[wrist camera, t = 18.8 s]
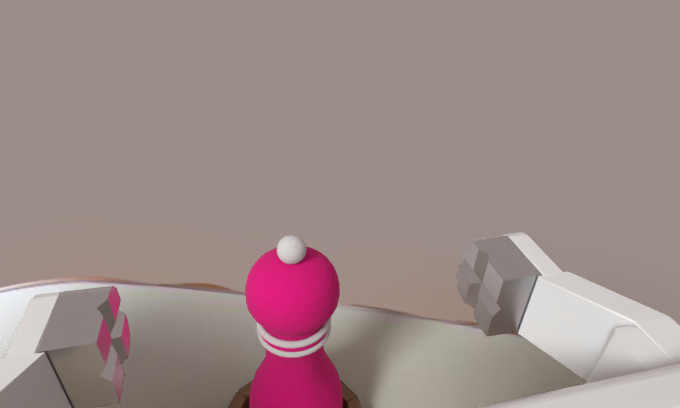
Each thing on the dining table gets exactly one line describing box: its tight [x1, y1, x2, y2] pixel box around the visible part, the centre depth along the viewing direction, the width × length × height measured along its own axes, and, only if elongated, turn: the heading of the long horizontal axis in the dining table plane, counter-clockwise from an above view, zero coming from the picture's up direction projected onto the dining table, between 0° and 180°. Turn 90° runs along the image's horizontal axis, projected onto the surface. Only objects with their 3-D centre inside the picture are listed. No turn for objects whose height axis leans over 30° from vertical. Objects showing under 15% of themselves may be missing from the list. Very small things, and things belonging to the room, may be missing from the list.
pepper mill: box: [246, 235, 343, 408], centre depth 33 cm, size 7×7×20 cm
